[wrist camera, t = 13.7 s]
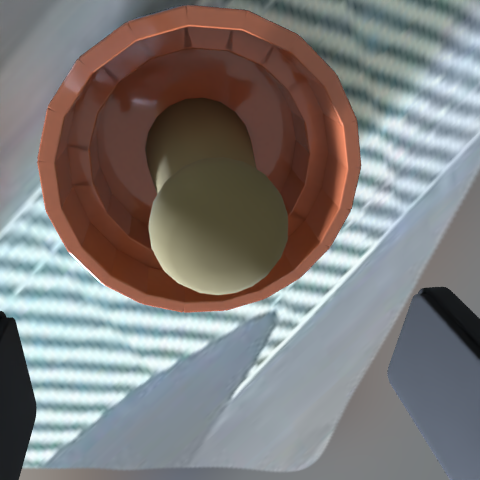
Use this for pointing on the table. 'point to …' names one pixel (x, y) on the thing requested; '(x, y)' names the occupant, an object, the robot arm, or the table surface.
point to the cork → (211, 200)
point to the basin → (175, 90)
